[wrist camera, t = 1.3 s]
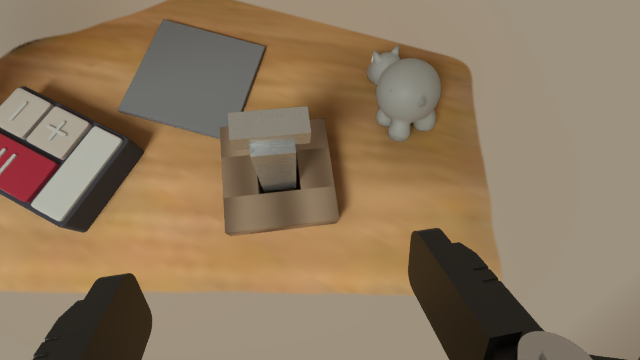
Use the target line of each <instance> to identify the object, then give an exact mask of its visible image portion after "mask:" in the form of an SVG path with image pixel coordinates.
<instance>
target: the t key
mask: <svg viewBox="0 0 640 360" xmlns="http://www.w3.org/2000/svg"><path fill="white" fill-rule="evenodd" d="M228 125H229V140H230V142H231V144H232V146H233V148H234V150H242V149H250V157H251V160H252V162H253V165H254V168H255V170H256V173H257V175H258V178H259V181H260V183H261V186H262V188H263V191H264V194H266V193H275V192H284V191H293V190H296V147H295V144H306V143H310V139H311V128H310V120H309V113H308V106H306V107H294V108H281V109H269V110H257V111H245V112H233V113H228Z"/></svg>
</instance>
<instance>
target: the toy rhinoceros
mask: <svg viewBox="0 0 640 360" xmlns="http://www.w3.org/2000/svg"><path fill="white" fill-rule="evenodd" d="M367 76H368V78H369V80H370V81H372V82H373V83H374V84H375V85H377V89H376V97H377V102H378V105H379V107H380V108H379V109H378V111H377V115H376V120H377V122H378V124H380V125H382V126H386V127H389V129H388V135H389V137H390V139H392V140H394V141H398V142H402V141H405V140H406V139H407V138H408V137H409V135H410V124H411V123H412V122H413V124H414V127H415V128H416V129H417V130H419V131H430V130H431V129H432V128H433V127H434V125H435V122H436V114H435V110H434V108H435V107H436V105H437V103H438V101H439V98H440V94H441V82H440V78H439V76H438V74H437V72H436V70H435V69H434V68H433V67H432V66H431V65H430V64H428V63H427V62H425V61H423V60H420V59H416V58H406V59H402V60H401V59H400V58H399V45H397V46H396V47H395V48H394V49H393V51H391V52H387V53H382V54H379V53H378V52H376V51H374V52H373V56H372V60H371V64H370V65H369V66H368V69H367Z"/></svg>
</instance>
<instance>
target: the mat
mask: <svg viewBox="0 0 640 360" xmlns="http://www.w3.org/2000/svg"><path fill="white" fill-rule="evenodd" d="M264 51H265V46H261V45H257V44H254V43H250V42H246V41H242V40H239V39H235V38H231V37H227V36H224V35H220V34H216V33H212V32H209V31H205V30H201V29H197V28H194V27H190V26H186V25H183V24H179V23H175V22H171V21H168V20H164V19H163V20H162V22H161V24H160V26H159V28H158V30H157V32H156V34H155V36H154V38H153V40H152V42H151V44H150V46H149V48H148V50H147V52H146V54H145V56H144V58H143V60H142V62H141V64H140V66H139V68H138V70H137V72H136V74H135V76H134V78H133V80H132V82H131V84H130V86H129V88H128V90H127V92H126V94H125V96H124V98H123V100H122V102H121V104H120V106H119V108H118V111H119V112H121V113H125V114H128V115H132V116H136V117H140V118H143V119H147V120H151V121H155V122H158V123H162V124H166V125H169V126H173V127H177V128H181V129H184V130H188V131H192V132H196V133H199V134H203V135H207V136H210V137H214V138H218V139H220V127H227V126H229V125H228V113H233V112H242V111H243V108H244V105H245V103H246V100H247V97H248V94H249V92H250V89H251V86H252V84H253V81H254V78H255V76H256V73H257V70H258V67H259V65H260V62H261V59H262V57H263V54H264Z"/></svg>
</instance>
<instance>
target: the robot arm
mask: <svg viewBox="0 0 640 360" xmlns="http://www.w3.org/2000/svg"><path fill="white" fill-rule="evenodd" d="M408 275H409V281H410V284H411V287H412V290H413V292H414V294H415V296H416V297H417V299H418V301H419V303H420V305H421V307H422V309H423V311H424V313H425V314H426V316H427V318H428V320H429V322H430V324H431V326H432V328H433V330H434V331H435V333H436V335H437V337H438V339H439V341H440V343H441V345H442V347H443V349H444V350H445V352H446V354H447V356H448V358H449V360H624V359H617V358H609V357H602V356H594V355H589V354H587V353H586V352H585V351H584V350H583V349H582V348H580V347H579V346H577V345H576V344H575V343H573V342H571V341H570V340H568V339H566V338H564V337H562V336H559V335H557V334H553V333H550V332H545V331H544V330H543V329H542V328H540V326H539V325H538V324H537V323H536V322H535V320H534V319H533V318H532V317H531V316H530V314H529V313H528V312H527V311H526V310H525V309H524V308H523V306H522V305H521V304H520V303H519V302H518V301H517V300H516V298H515V297H514V296H513V295H512V294H511V293H510V291H509V290H508V289H507V288H506V287H505V286H504V285H503V283H502V282H501V281H498V278H497V276H496V275H495V274H494V273H493V272H492V271H491V270H490V269H488V266H487V265H486V264H485V263H484V262H483V260H482V259H481V258H480V257H479V256H478V255H477V253H475V252H474V251H472V250H471V249H469V248H467V247H466V246H464V245H463V244H461V243H460V242H458V243H451V241H450V240H449V239H448V238H447V236H446V235H445V234H444V233H443V231H442V230H441V229H439V228H433V229H427V230H420V231H414V232H413V233H412V235H411V242H410V253H409V265H408ZM151 329H152V315H151V311H150V308H149V306H148V304H147V302H146V300H145V298H144V295H143V293H142V291H141V289H140V286H139V284H138V282H137V280H136V278H135V276H134V275H133V274H131V273H127V274H121V275H114V276H107V277H101V278H99V279H97V280H96V281H95V283H94V284H93V286H92V287H91V289H90V291H89V292H88V294H87V296H86V297H85V299H84V300H80V301H77V302H76V303H75V304H74V305H73V306H71V307H70V308H69V309H68V310H67V311H66V312H65V313H64V314H63V315H62V316H61V317H59V318H58V320H57V321H56V323H55V324H54V326H53V327H52V329H51V330H50V332H49V333H48V335H47V336H46V338H45V342H43V343H42V344H41V345H40V347H39V348H38V350H37V351H36V353H35V354H34V359H33V360H141V359H142V356H143V354H144V351H145V348H146V345H147V342H148V339H149V336H150V333H151ZM638 360H640V357H639V359H638Z"/></svg>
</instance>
